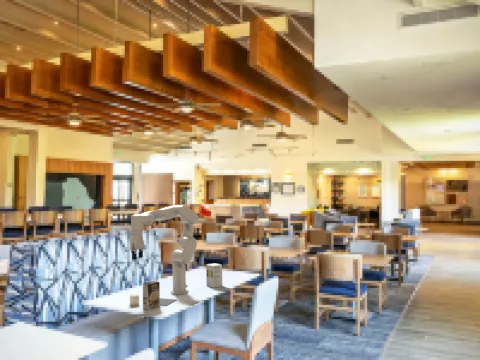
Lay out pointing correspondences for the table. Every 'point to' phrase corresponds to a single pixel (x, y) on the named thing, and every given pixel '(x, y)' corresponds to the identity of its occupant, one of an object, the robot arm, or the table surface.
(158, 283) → the coffee box
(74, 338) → the table surface
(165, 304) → the slate mat
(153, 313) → the table surface
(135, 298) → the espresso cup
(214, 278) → the supplement box
